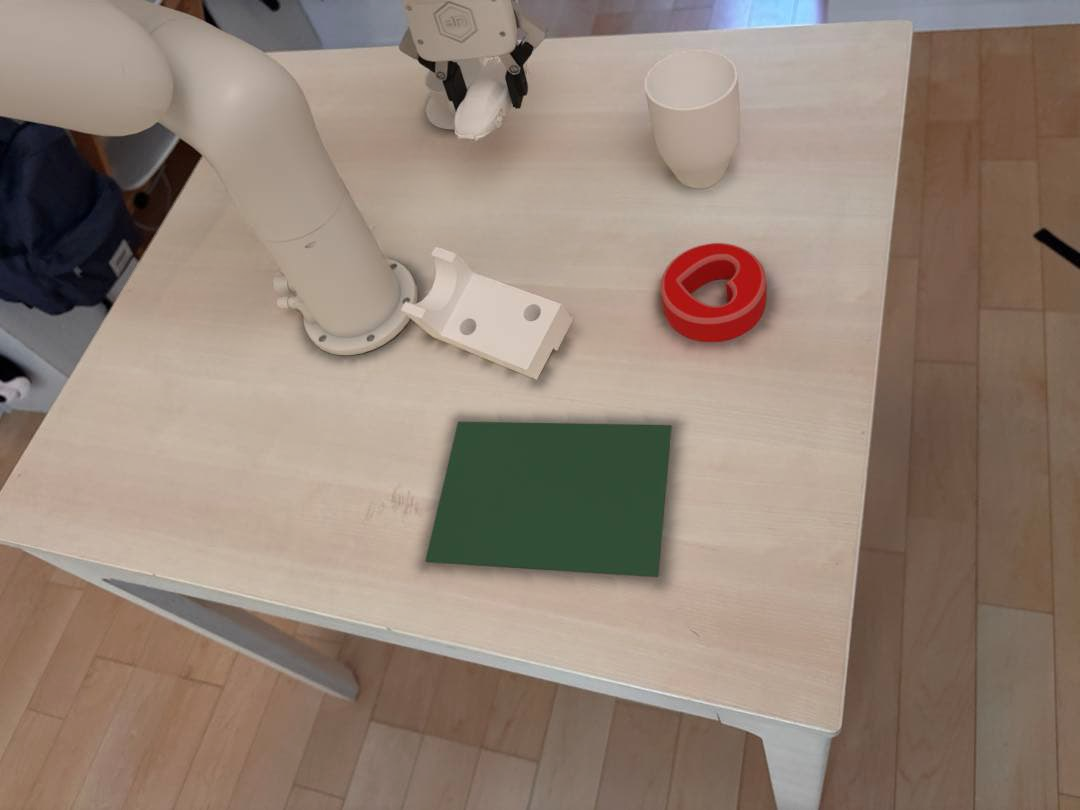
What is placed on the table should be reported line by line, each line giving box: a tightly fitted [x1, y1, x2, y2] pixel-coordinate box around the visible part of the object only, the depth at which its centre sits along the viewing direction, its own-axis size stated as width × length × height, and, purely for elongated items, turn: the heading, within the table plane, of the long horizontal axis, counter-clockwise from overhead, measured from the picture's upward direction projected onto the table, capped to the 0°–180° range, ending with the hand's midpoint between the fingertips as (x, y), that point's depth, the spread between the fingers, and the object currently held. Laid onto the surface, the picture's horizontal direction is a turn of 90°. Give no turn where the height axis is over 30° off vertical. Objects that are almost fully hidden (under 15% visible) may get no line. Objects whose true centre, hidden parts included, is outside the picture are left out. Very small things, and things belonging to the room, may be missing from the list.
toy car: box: [454, 58, 532, 142], centre depth 90 cm, size 5×12×4 cm, turn 158°
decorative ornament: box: [659, 242, 767, 343], centre depth 81 cm, size 10×10×3 cm
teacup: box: [424, 58, 501, 130], centre depth 106 cm, size 10×10×5 cm
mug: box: [643, 48, 741, 189], centre depth 88 cm, size 12×9×12 cm
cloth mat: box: [425, 421, 672, 578], centre depth 75 cm, size 20×14×1 cm
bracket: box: [401, 246, 574, 381], centre depth 83 cm, size 13×7×8 cm, turn 57°
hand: (490, 100), depth 91 cm, fingers closed on toy car, 5 cm apart
